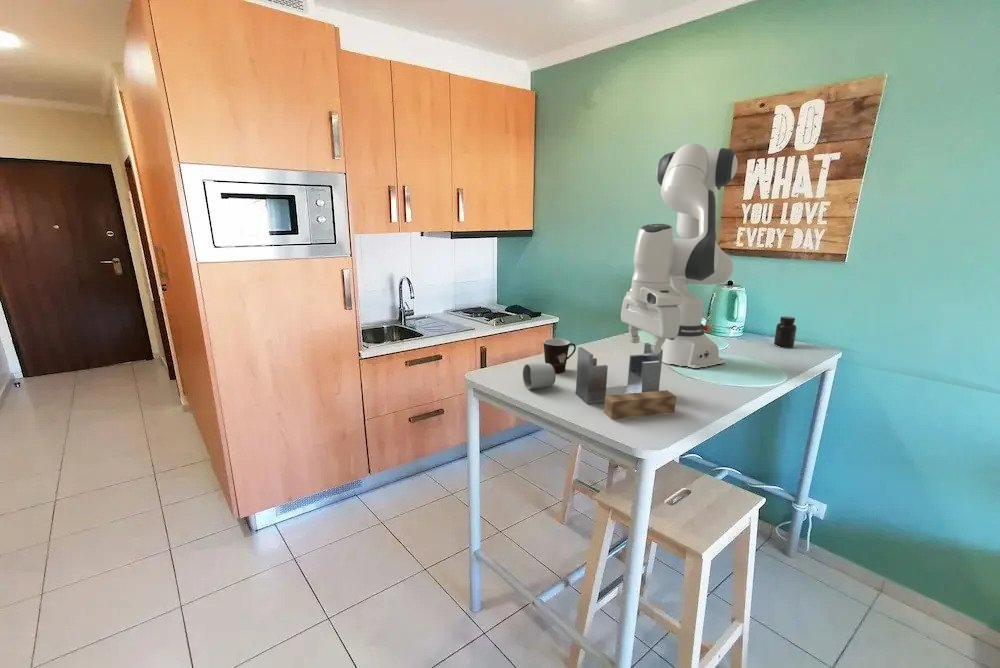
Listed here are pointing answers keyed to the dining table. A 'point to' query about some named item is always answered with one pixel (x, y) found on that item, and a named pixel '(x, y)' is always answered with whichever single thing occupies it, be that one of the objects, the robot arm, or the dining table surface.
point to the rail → (639, 404)
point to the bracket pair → (594, 387)
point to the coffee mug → (557, 353)
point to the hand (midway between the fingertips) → (644, 347)
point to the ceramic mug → (538, 375)
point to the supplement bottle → (785, 332)
